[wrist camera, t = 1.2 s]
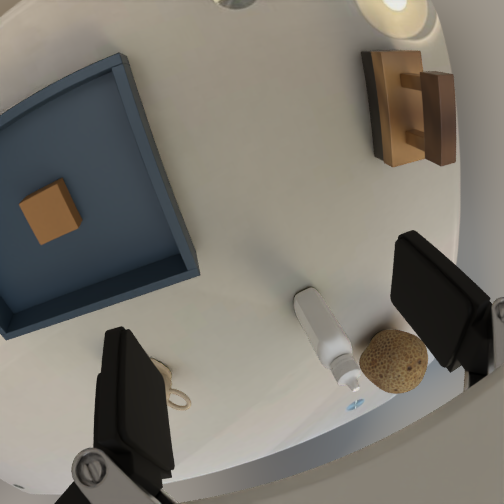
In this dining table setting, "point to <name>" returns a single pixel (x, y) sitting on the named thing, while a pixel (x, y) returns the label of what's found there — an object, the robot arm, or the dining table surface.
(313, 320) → the eye dropper bottle
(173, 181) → the dining table surface
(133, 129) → the tray
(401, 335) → the natural sponge
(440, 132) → the brush
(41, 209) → the tan flat square block
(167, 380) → the decorative ornament
